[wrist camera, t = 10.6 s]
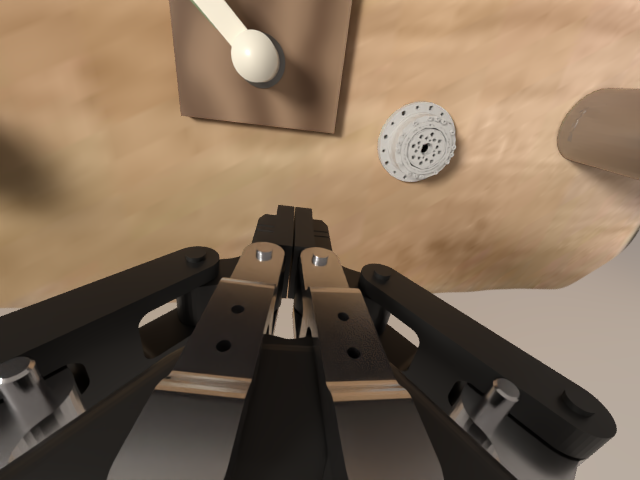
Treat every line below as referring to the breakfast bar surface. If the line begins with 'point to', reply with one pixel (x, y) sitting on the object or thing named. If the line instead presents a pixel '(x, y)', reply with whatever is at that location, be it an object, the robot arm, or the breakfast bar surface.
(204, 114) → the board
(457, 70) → the breakfast bar surface
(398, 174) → the mechanical component
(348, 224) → the breakfast bar surface
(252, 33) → the peg
